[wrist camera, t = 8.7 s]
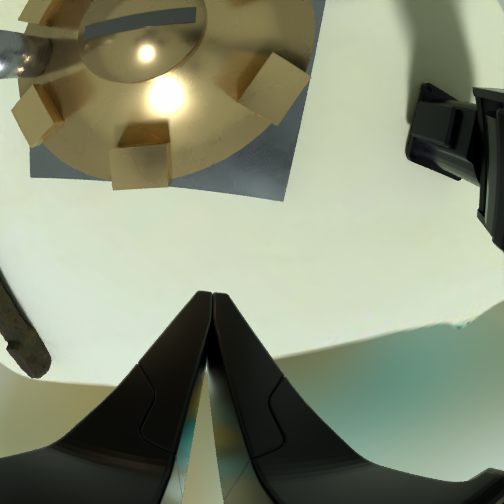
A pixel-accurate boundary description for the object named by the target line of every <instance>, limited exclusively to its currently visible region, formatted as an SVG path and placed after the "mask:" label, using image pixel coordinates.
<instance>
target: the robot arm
mask: <svg viewBox="0 0 504 504" xmlns="http://www.w3.org/2000/svg"><path fill="white" fill-rule="evenodd" d="M427 87H428V91H427ZM472 88H473V94H474V96H475V99H476V104H473V103H467V102H461V101H458V100H456V99H455V98H453V97H452V96H450V95H449V94H447V93H445V92H444V91H442V90H440V89H439V88H437V87H435V86H434V85H432V84H430V83H423V84H422V86H421V91H420V96H419V101H418V104H417V109H416V113H415V118H414V122H413V127H412V131H411V137H410V141H409V145H408V149H407V152H406V157H407V159H408V160H409V161H411V162H414V163H417V164H419V165H422V166H424V167H427V168H429V169H431V170H434V171H436V172H439V173H441V174H443V175H446V176H448V177H450V178H452V179H455V180H457V181H459V180H461V178H463V179H465V180H467V181H469V182H471V183H473V184H474V185H476V186H478V187H480V199H479V209H478V211H477V218H478V219H479V220H480V221H481V223H482V224H483V225H484V227H485V228H486V229H487V231H488V232H489V233H490V235H491V236H492V241H493V243H494V244H495V245H496V246H497V247H498V248H499V249H500V250H501V251H503V252H504V89H497V88H479V87H472ZM412 153H414V156H413V157H412ZM206 363H207V376H208V386H209V397H210V406H211V416H212V424H213V432H214V440H215V448H216V456H217V463H218V469H219V476H220V483H221V488H222V495H223V500H224V504H504V471H502V470H497V469H494V468H488V469H486V470H484V471H483V472H481V473H480V474H478V475H476V476H475V477H473V478H471V479H470V480H468V481H464V482H450V481H442V480H437V479H432V478H426V477H422V476H418V475H414V474H410V473H405V472H402V471H398V470H394V469H391V468H387V467H384V466H380V465H377V464H375V463H373V462H370V461H369V460H367V459H365V458H363V457H362V456H361V455H359V454H358V453H357V452H355V451H354V450H353V449H352V448H351V447H350V446H349V445H348V444H347V443H346V442H344V440H343V439H341V438H340V437H339V436H338V435H337V434H336V433H335V432H334V431H333V430H332V429H331V428H330V427H329V426H328V425H327V424H326V423H325V422H324V421H323V420H322V419H321V418H320V417H319V416H318V415H317V414H316V413H315V412H314V410H313V409H312V408H311V407H310V406H309V405H308V404H307V403H306V402H305V401H304V399H303V398H302V397H301V396H300V394H299V393H298V392H297V391H296V389H295V388H294V387H293V386H292V384H291V383H290V382H289V380H288V379H287V378H286V377H284V374H283V372H282V371H281V370H280V368H279V367H278V365H277V364H276V363H275V361H274V360H273V358H272V357H271V356H270V354H269V353H268V351H267V350H266V349H265V347H264V346H263V344H262V343H261V341H260V340H259V339H258V337H257V336H256V334H255V333H254V332H253V330H252V329H251V327H250V326H249V324H248V323H247V321H246V320H245V319H244V317H243V316H242V314H241V313H240V311H239V310H238V308H237V307H236V305H235V304H234V303H233V301H232V300H231V298H230V297H229V295H228V294H226V293H217V292H214V293H213V295H212V293H211V292H208V291H197V292H196V293H195V295H194V296H193V297H192V298H191V299H190V301H189V302H188V303H187V304H186V305H185V306H184V308H183V309H182V310H181V311H180V312H179V314H178V315H177V316H176V317H175V318H174V320H173V321H172V322H171V323H170V324H169V326H168V327H167V328H166V329H165V330H164V332H163V333H162V334H161V335H160V336H159V338H158V339H157V340H156V341H155V342H154V344H153V345H152V346H151V347H150V348H149V350H148V351H147V352H146V353H145V354H144V356H143V357H142V358H141V359H140V360H139V362H138V364H136V365H135V366H134V368H133V369H132V370H131V371H130V372H129V374H128V375H127V376H126V377H125V378H124V379H123V380H122V382H121V383H120V384H119V385H118V386H117V387H116V388H115V389H114V391H112V393H110V394H109V395H108V396H107V397H106V398H105V399H104V400H103V401H102V402H101V403H100V404H99V405H98V406H97V407H96V408H94V409H93V410H92V411H91V412H90V413H89V414H88V415H87V416H86V417H85V418H84V419H82V420H81V421H80V422H79V423H78V424H77V425H76V426H75V427H74V428H73V429H72V430H70V432H68V433H67V434H66V435H65V436H63V437H62V438H61V439H59V440H58V441H56V442H54V443H52V444H50V445H48V446H46V447H43V448H40V449H36V450H32V451H29V452H24V453H20V454H17V455H12V456H8V457H3V458H0V504H182V498H183V493H184V487H185V481H186V475H187V468H188V462H189V458H190V452H191V446H192V441H193V435H194V429H195V423H196V418H197V413H198V407H199V402H200V397H201V392H202V386H203V381H204V376H205V370H206Z"/></svg>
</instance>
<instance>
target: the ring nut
mask: <svg viewBox="0 0 504 504" xmlns="http://www.w3.org/2000/svg"><path fill="white" fill-rule="evenodd" d="M18 20H19V21H23V22H27V23H28V26H27V28H26V31H25V33H24V34H23V33H18V32H12V31H5V30H0V79H8V78H18V85H19V92H20V98H21V99H20V100H19V101H18V102H17V103H16V105H15V106H14V107H13V109H12V110H11V111H12V113H13V115H14V117H15V119H16V121H17V123H18V125H19V127H20V129H21V131H22V133H23V135H24V136H25V138H26V140H27V142H28V144H29V145H30V147H31V148H33V147H36V146H38V145H41V144H42V143H43V144H44V145H45V146H46V148H47V149H48V150H49V151H50V152H51V153H53V154H54V155H55V156H56V157H57V158H59V159H60V160H61V161H63V162H64V163H66V164H67V165H69V166H71V167H72V168H74V169H76V170H78V171H81V172H83V173H85V174H88V175H90V176H93V177H97V178H101V179H104V180H108V181H112V187H113V190H125V189H142V188H161V187H169V186H170V184H171V183H172V179H173V178H178V177H182V176H186V175H189V174H191V173H194V172H197V171H200V170H203V169H205V168H208V167H210V166H212V165H214V164H216V163H218V162H220V161H222V160H224V159H226V158H227V157H229V156H231V155H232V154H234V153H235V152H237V151H239V150H240V149H242V148H243V147H245V146H246V145H247V144H249V143H250V142H251V141H252V140H254V139H255V138H256V137H257V136H259V135H260V134H261V133H262V132H263V131H264V130H265V129H266V128H267V127H268V126H269V125H270V124H271V123H272V124H273V125H276V126H278V125H279V123H280V122H281V120H282V119H283V117H284V116H285V114H286V113H287V111H288V110H289V109H290V107H291V106H292V104H293V103H294V101H295V100H296V98H297V97H298V96H299V94H300V93H301V91H302V90H303V88H304V87H305V86H306V84H307V83H308V81H309V80H310V79H311V76H309V75H308V74H306V73H305V72H306V70H307V68H308V65H309V61H310V57H311V54H312V50H313V45H314V35H315V19H314V9H313V5H312V1H311V0H29V1H28V3H27V4H26V6H25V8H24V10H23V11H22V13H21V15H20V17H19V19H18Z"/></svg>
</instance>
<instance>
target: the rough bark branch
mask: <svg viewBox="0 0 504 504" xmlns="http://www.w3.org/2000/svg"><path fill="white" fill-rule="evenodd" d="M0 333H1V334H2V336H3V337H4V339H5V341H7V342H8V346H7V348H6V350H7V351H8V352H9V354H10V355H11V356H12V357H13V358H14V360H15V361H16V362H17V364H18V365H19V366H20V368H21V369H22V370H23V371H24V372H26V373H27V375H29V376H30V377H31V378H37V379H38V378H41V377H42V376H43V375H44V374H46V373H47V371H48V370H49V368H50V365H51V361H52V360H51V357H50V355H49V353H48V351H47V349H46V347H45V346H44V344H43V342H42V341H41V339H40V338H39V336H38V334H37V332H36V330H35V329H34V328H33V327H32V326H30V325H28V324H27V323H26V322H25V321H24V320H23V318H22V317H21V315H20V314H19V312H18V310H17V309H16V307H15V305H14V304H13V301H12V299H11V298H10V297H9V296H8V294H7V292H6V290H5V288H4V287H3V285H2V283H1V281H0Z"/></svg>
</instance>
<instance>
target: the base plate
mask: <svg viewBox="0 0 504 504" xmlns="http://www.w3.org/2000/svg"><path fill="white" fill-rule="evenodd" d="M311 1H312V5H313V9H314V19H315V35H314V45H313V50H312V54H311V57H310V61H309V65H308V68H307V70H306V72H305V73H306V74H308V75H309V76H311V72H312V67H313V62H314V57H315V52H316V47H317V42H318V37H319V32H320V27H321V22H322V16H323V11H324V6H325V0H311ZM309 82H310V80H309V81H308V83H307V84H306V86H305V87H304V88H303V90H302V91H301V93H300V94H299V96H298V97H297V98H296V100H295V101H294V103H293V104H292V106H291V107H290V109H289V110H288V111H287V113H286V114H285V116H284V117H283V119H282V120H281V122H280V123H279V125H278V126H276V125H273V124H272V123H271V124H270V125H269V126H268V127H267V128H266V129H265V130H264V131H263V132H262V133H261V134H260V135H259V136H257V137H256V138H255V139H254V140H252V141H251V142H250V143H249V144H247V145H246V146H245V147H243V148H242V149H240V150H239V151H237V152H235V153H234V154H232V155H231V156H229V157H227V158H226V159H224V160H222V161H220V162H218V163H216V164H214V165H212V166H210V167H208V168H205V169H203V170H200V171H197V172H194V173H191V174H189V175H186V176H182V177H178V178H173V179H172V183H171V184H170V187H179V188H188V189H197V190H205V191H213V192H221V193H229V194H236V195H243V196H250V197H257V198H263V199H270V200H276V201H282V202H283V200H284V196H285V192H286V187H287V183H288V178H289V174H290V170H291V165H292V161H293V156H294V152H295V147H296V143H297V138H298V134H299V129H300V124H301V120H302V115H303V110H304V106H305V101H306V96H307V91H308V87H309ZM30 177H31V178H62V179H83V180H100V181H108V180H104V179H101V178H97V177H93V176H90V175H88V174H85V173H83V172H81V171H78V170H76V169H74V168H72V167H71V166H69V165H67V164H66V163H64V162H63V161H61V160H60V159H59V158H57V157H56V156H55V155H54V154H53V153H51V152H50V151H49V150H48V149H47V148H46V146H45V145H44V144H43V143H42V144H41V145H38V146H36V147H33V148H31V147H30Z"/></svg>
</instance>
